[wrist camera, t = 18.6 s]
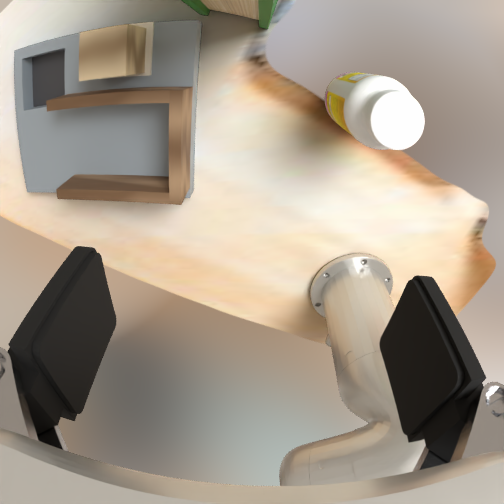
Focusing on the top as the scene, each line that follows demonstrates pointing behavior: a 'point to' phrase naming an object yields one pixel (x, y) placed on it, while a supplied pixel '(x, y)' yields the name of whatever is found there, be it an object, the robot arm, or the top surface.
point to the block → (112, 52)
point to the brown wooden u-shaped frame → (136, 185)
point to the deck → (101, 109)
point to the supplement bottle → (375, 110)
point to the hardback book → (237, 8)
